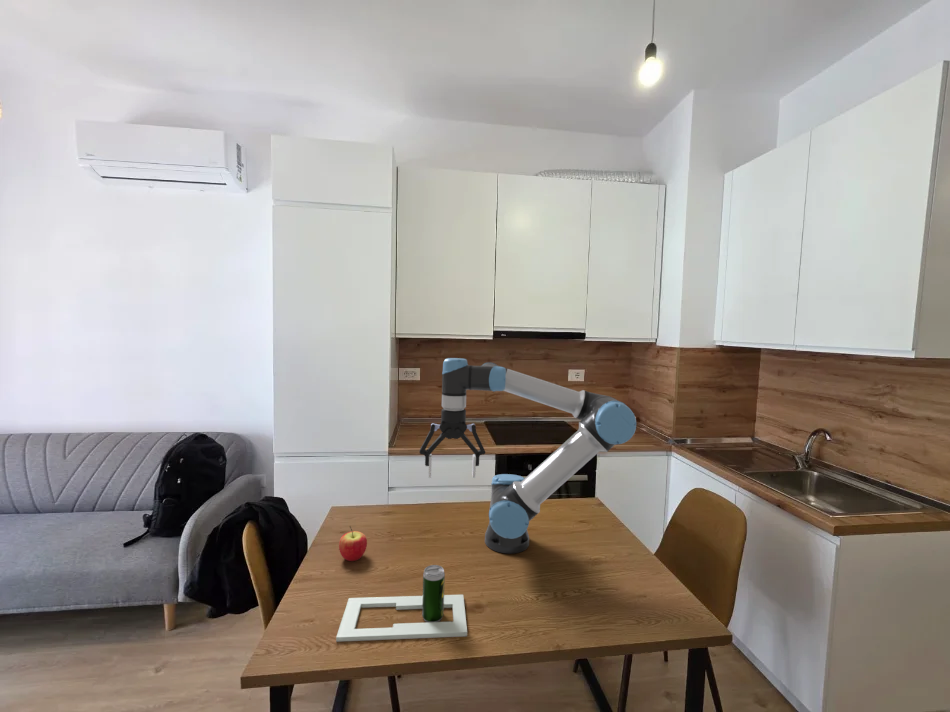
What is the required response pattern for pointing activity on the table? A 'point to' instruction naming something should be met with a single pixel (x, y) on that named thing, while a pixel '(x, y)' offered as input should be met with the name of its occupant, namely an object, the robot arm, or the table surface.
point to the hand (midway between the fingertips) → (451, 476)
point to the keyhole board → (402, 629)
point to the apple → (352, 545)
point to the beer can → (433, 593)
